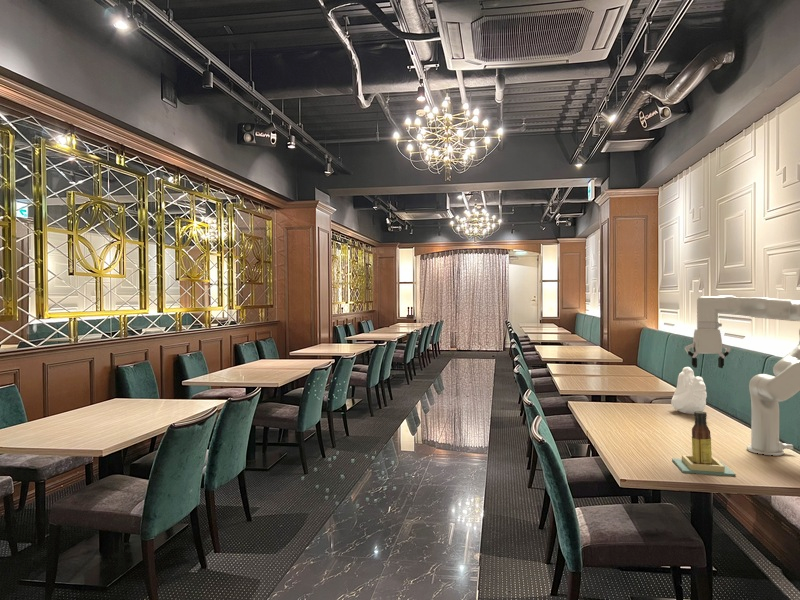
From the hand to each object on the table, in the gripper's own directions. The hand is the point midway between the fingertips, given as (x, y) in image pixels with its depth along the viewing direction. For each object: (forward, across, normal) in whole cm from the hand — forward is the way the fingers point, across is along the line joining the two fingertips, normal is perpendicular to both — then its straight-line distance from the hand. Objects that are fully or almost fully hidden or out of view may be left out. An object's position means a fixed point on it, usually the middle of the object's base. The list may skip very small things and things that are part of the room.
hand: (707, 367), depth 225 cm
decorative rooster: (+34, -14, -74) cm, 83 cm away
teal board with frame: (+34, +10, +27) cm, 44 cm away
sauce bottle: (+33, +11, +27) cm, 44 cm away
